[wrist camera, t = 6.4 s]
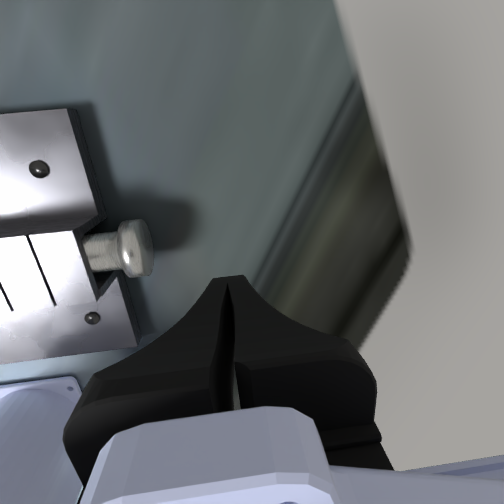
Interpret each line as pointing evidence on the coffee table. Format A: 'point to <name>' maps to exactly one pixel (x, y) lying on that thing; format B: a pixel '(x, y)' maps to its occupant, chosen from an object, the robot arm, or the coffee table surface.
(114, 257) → the hinge pin
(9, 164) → the hinge leaves
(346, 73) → the coffee table surface
